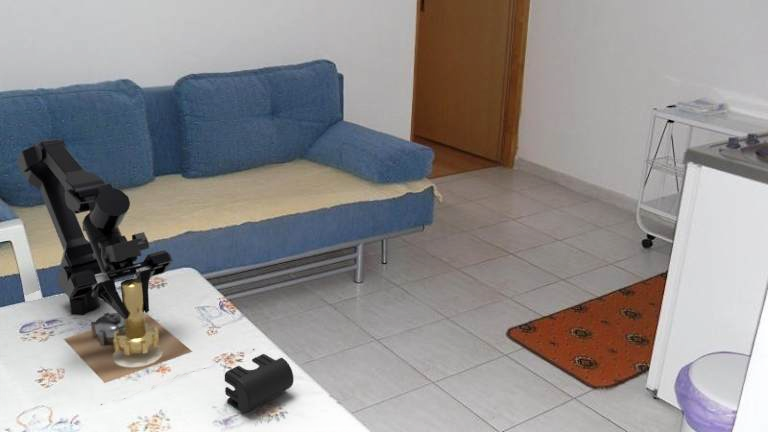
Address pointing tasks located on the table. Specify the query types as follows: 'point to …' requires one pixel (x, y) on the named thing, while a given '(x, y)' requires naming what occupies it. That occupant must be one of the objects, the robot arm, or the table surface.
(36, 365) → the table surface
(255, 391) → the end cap
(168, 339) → the carrier board
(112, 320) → the sun gear
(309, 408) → the table surface
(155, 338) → the gear
